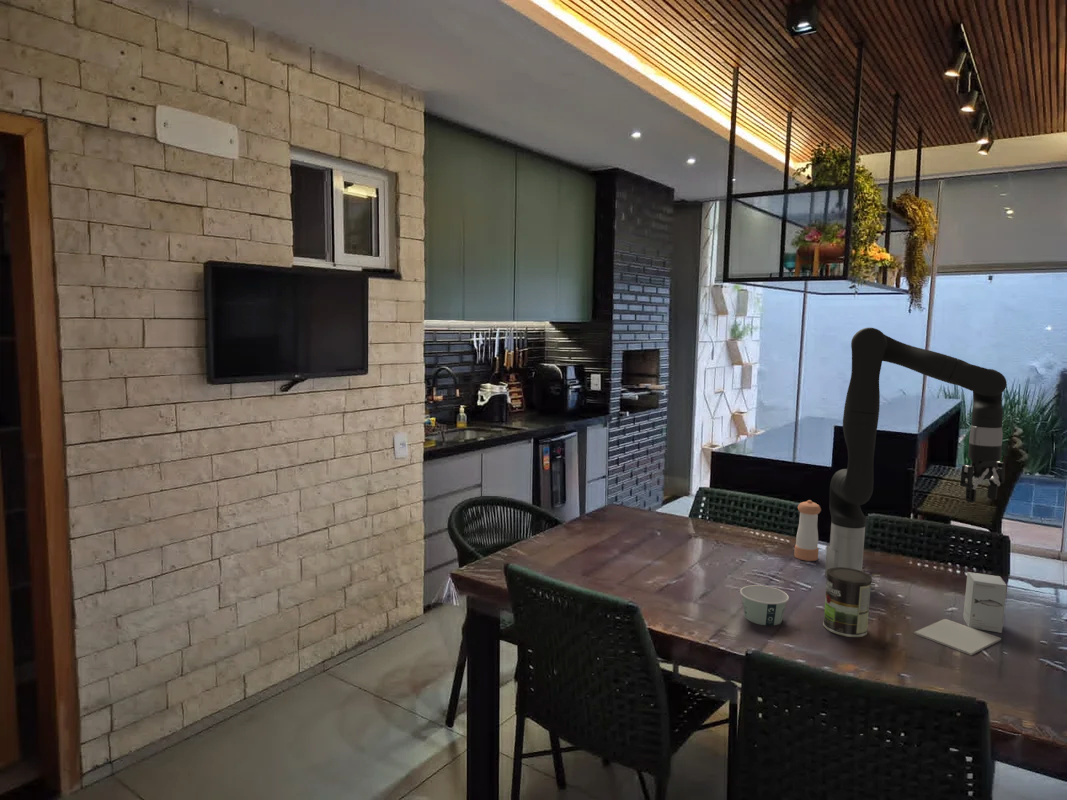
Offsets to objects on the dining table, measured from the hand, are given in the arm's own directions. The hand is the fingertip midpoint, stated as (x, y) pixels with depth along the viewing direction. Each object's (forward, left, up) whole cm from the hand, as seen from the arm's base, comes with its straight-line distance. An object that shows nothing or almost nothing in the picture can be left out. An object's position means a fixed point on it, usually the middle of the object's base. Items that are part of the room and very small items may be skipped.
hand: (981, 500), depth 189 cm
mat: (-18, -24, -29) cm, 42 cm away
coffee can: (-44, -21, -29) cm, 57 cm away
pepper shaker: (-34, +33, -29) cm, 55 cm away
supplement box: (-8, -17, -29) cm, 34 cm away
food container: (-63, -16, -29) cm, 71 cm away
